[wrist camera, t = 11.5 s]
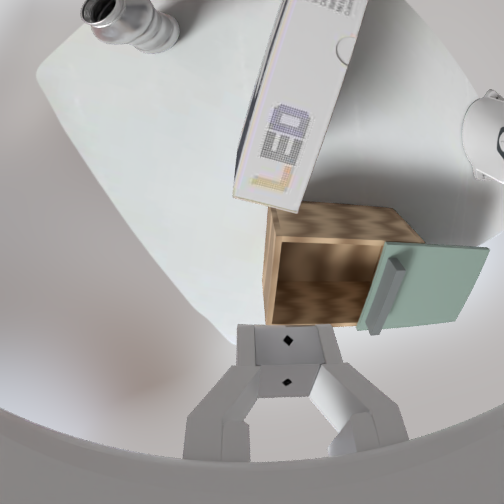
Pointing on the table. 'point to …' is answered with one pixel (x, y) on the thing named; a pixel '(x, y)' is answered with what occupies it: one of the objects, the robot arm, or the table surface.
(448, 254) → the lid
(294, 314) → the wooden box
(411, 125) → the table surface
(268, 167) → the packaging
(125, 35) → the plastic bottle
